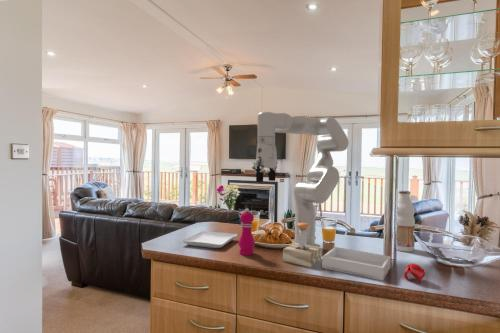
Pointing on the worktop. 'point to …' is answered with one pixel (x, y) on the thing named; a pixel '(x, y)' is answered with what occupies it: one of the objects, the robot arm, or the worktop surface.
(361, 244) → the worktop surface
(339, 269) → the tray
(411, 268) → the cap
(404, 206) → the fruit juice
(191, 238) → the salad plate
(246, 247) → the pepper mill
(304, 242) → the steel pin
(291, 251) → the pin block
